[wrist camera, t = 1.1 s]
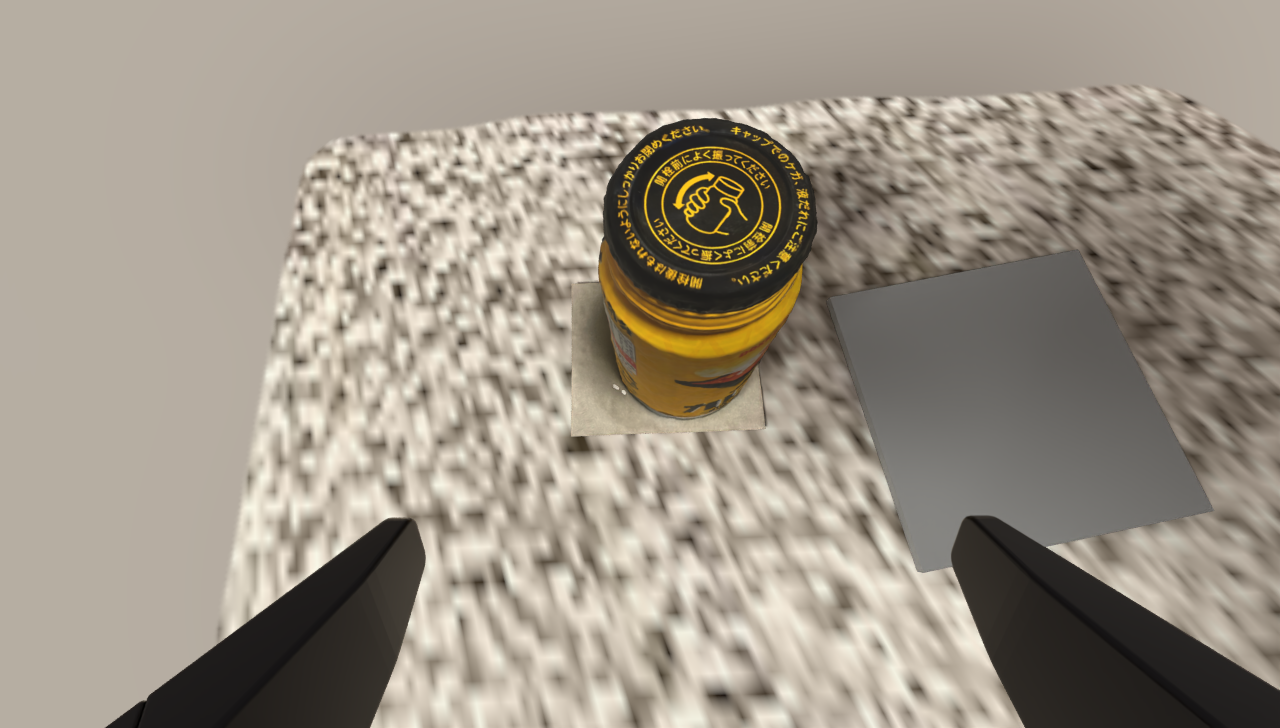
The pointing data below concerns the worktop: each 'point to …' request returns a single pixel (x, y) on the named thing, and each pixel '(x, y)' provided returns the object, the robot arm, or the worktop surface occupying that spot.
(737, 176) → the condiment
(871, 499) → the worktop surface
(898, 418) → the mat
